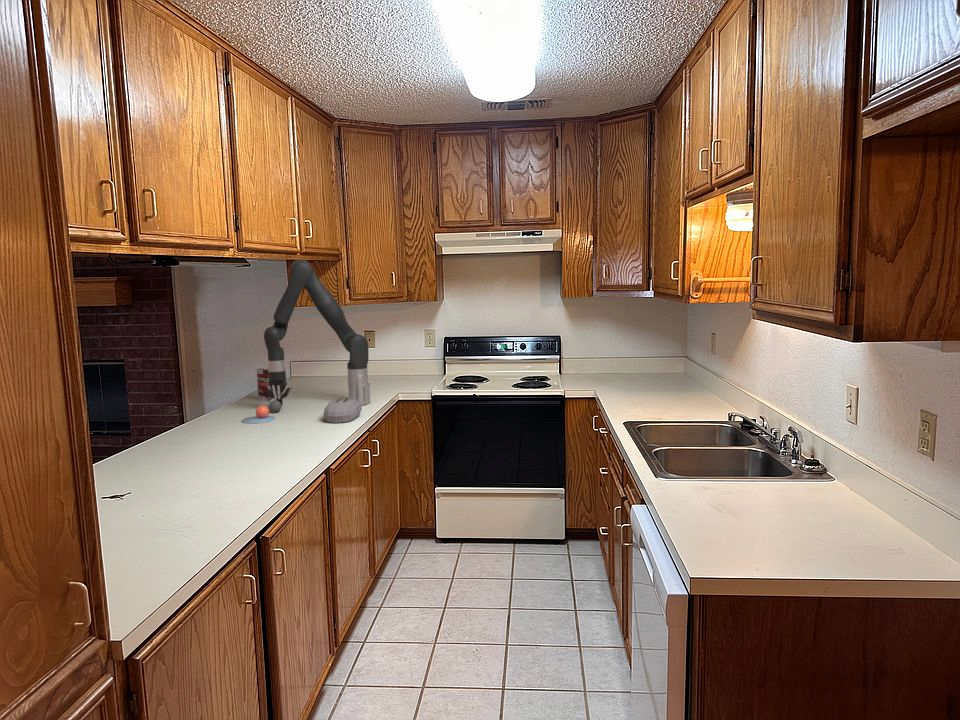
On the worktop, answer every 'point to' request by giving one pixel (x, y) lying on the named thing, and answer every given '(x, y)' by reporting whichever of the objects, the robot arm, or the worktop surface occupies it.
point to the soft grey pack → (342, 411)
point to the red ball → (262, 411)
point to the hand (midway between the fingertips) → (279, 407)
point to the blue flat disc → (257, 419)
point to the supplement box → (263, 384)
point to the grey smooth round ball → (275, 406)
